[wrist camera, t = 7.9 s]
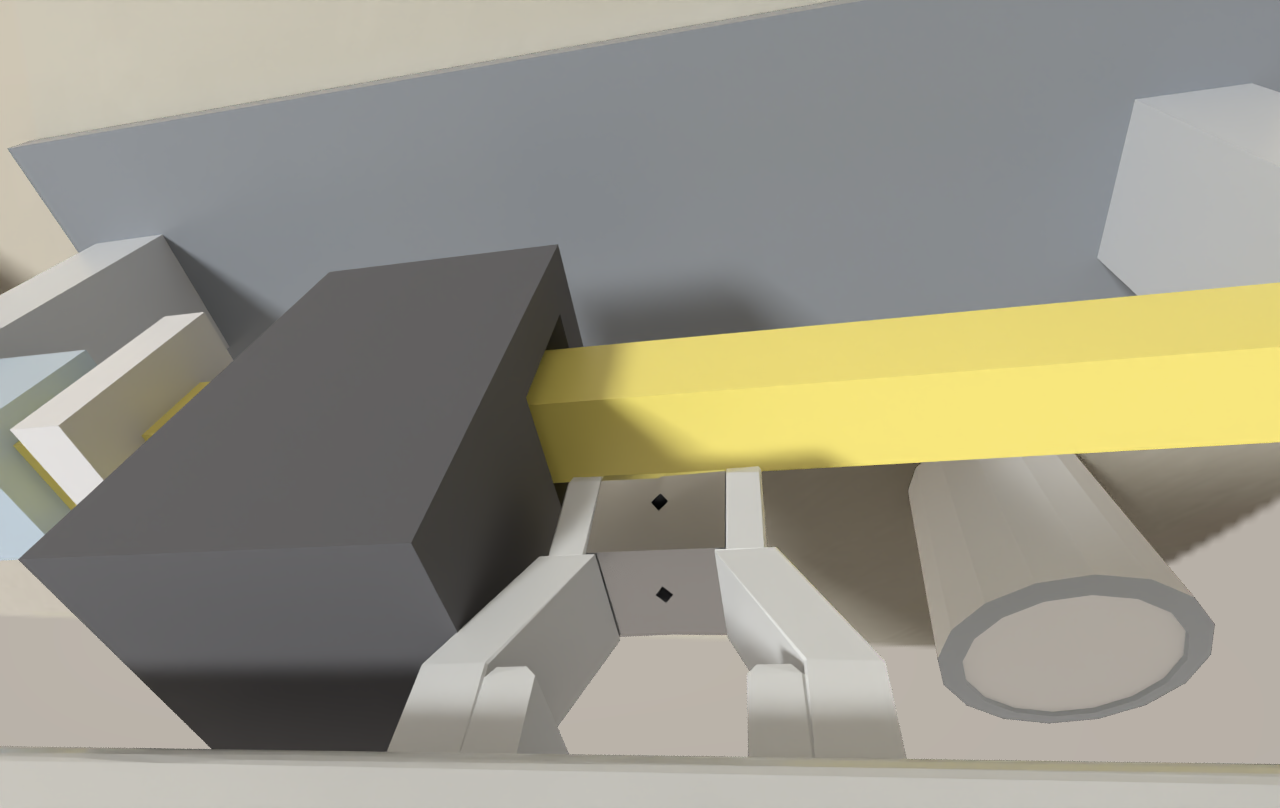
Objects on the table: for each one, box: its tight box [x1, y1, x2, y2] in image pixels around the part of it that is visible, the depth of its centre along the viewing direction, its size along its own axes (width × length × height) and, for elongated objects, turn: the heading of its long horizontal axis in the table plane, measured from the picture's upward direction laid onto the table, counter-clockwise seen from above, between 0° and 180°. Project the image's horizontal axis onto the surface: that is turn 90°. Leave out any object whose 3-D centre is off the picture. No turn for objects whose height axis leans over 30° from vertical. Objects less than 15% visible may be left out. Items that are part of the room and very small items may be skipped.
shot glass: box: [908, 454, 1215, 723], centre depth 21 cm, size 7×7×7 cm
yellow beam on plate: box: [0, 0, 1280, 560], centre depth 16 cm, size 33×10×11 cm, turn 100°
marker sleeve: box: [18, 244, 583, 752], centre depth 12 cm, size 5×5×8 cm
